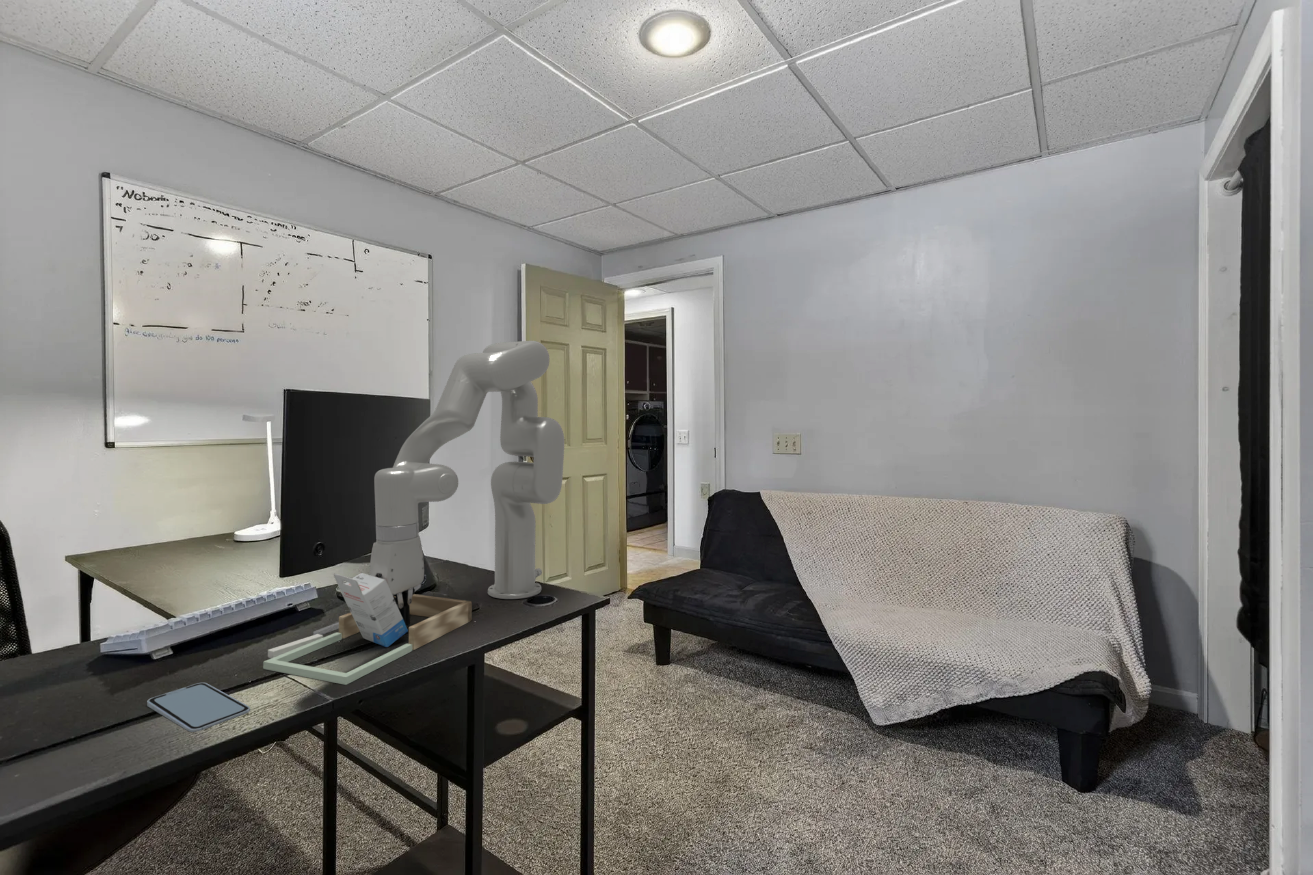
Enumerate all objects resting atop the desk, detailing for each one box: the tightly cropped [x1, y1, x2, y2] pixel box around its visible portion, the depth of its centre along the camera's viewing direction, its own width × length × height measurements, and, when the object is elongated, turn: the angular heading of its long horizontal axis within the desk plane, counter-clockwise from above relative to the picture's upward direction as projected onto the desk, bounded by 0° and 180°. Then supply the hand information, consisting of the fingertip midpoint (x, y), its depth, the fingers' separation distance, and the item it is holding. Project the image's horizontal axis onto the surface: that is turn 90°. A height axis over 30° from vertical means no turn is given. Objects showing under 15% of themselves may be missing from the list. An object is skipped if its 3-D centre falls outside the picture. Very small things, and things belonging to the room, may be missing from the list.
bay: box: [262, 631, 413, 686], centre depth 103 cm, size 15×17×1 cm
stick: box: [267, 634, 324, 659], centre depth 107 cm, size 9×2×2 cm, turn 153°
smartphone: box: [146, 682, 251, 733], centre depth 85 cm, size 7×1×15 cm
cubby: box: [338, 593, 473, 651], centre depth 118 cm, size 17×17×4 cm
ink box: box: [332, 572, 409, 648], centre depth 110 cm, size 8×5×15 cm, turn 55°
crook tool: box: [312, 621, 339, 636], centre depth 119 cm, size 12×5×1 cm, turn 161°
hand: (400, 625), depth 116 cm, fingers closed
